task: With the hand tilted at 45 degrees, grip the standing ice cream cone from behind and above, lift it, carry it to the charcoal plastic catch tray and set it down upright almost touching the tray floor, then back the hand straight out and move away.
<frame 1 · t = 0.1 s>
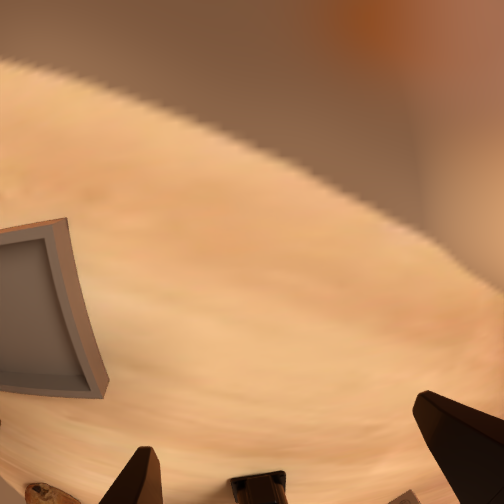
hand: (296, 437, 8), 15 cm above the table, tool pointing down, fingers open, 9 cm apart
bread roll: (59, 498, 28), on the table
catch tray: (18, 311, 20), on the table
dice cube: (401, 497, 41), on the table
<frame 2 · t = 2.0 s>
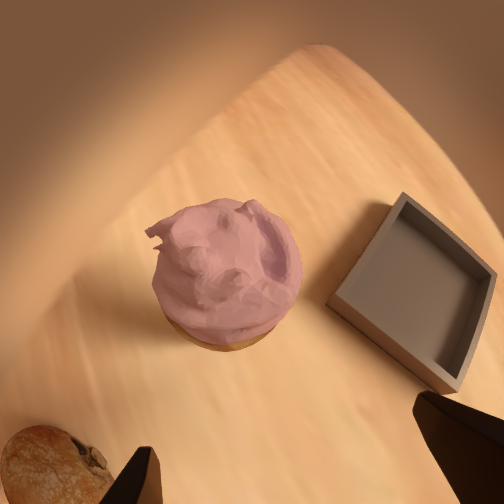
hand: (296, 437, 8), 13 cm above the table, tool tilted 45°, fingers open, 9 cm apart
bread roll: (68, 486, 16), on the table
catch tray: (420, 293, 26), on the table
ice cream cone: (220, 329, 23), on the table
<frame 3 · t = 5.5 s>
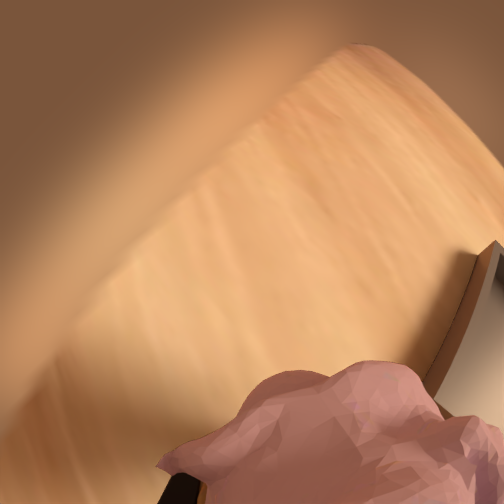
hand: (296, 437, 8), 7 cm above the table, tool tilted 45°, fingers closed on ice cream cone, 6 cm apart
ice cream cone: (272, 450, 14), on the table, touching gripper
when the fingers open (7 cm above the table, at t = 11.4 s): ice cream cone stays where it is, resting on catch tray.
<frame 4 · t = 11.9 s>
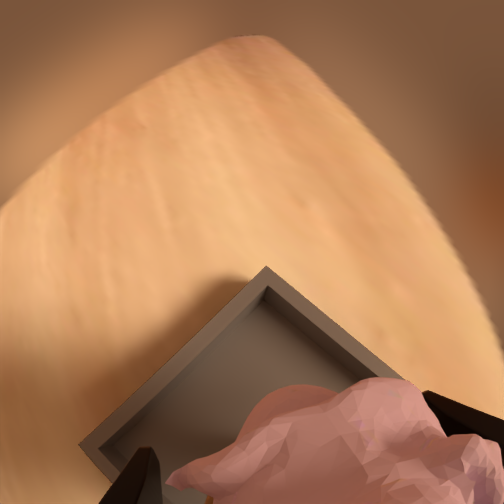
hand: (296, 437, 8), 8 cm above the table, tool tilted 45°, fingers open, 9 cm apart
catch tray: (272, 449, 14), on the table
ice cream cone: (271, 453, 14), resting on catch tray
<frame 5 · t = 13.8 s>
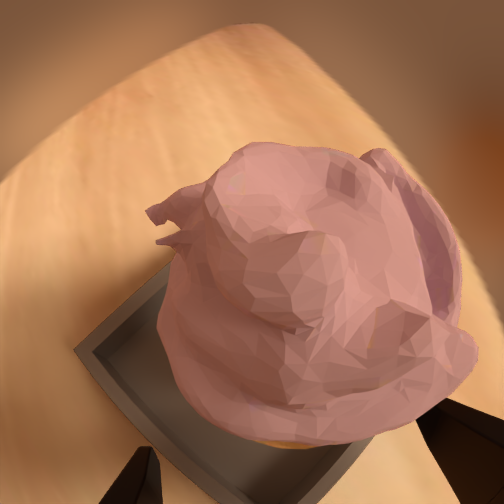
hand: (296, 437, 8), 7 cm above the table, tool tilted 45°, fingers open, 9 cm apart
catch tray: (261, 363, 17), on the table
ice cream cone: (260, 367, 16), resting on catch tray
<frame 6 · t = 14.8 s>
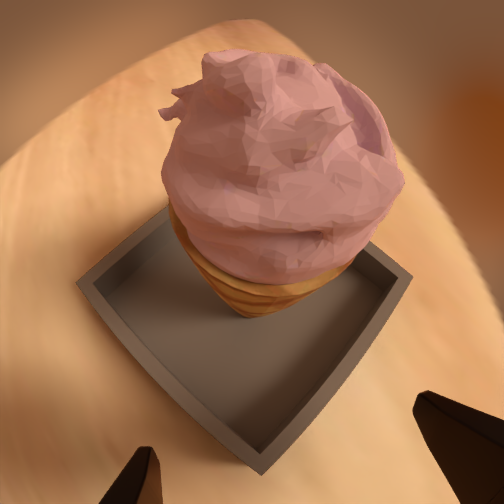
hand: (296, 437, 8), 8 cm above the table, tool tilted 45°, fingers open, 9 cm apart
catch tray: (248, 299, 19), on the table
ice cream cone: (246, 302, 18), resting on catch tray
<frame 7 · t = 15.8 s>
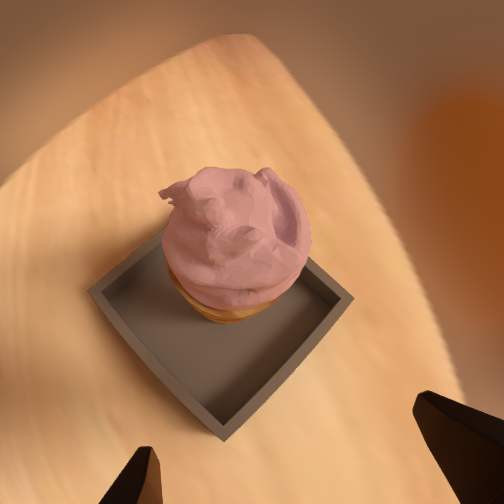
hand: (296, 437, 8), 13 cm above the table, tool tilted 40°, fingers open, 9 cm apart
catch tray: (220, 308, 24), on the table
ice cream cone: (219, 310, 23), resting on catch tray
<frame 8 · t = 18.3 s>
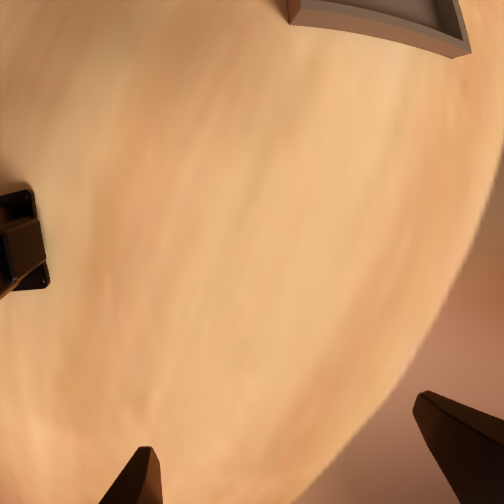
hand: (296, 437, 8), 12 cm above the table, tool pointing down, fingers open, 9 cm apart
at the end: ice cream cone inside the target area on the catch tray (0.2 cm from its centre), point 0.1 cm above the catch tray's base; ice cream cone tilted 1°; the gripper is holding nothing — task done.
